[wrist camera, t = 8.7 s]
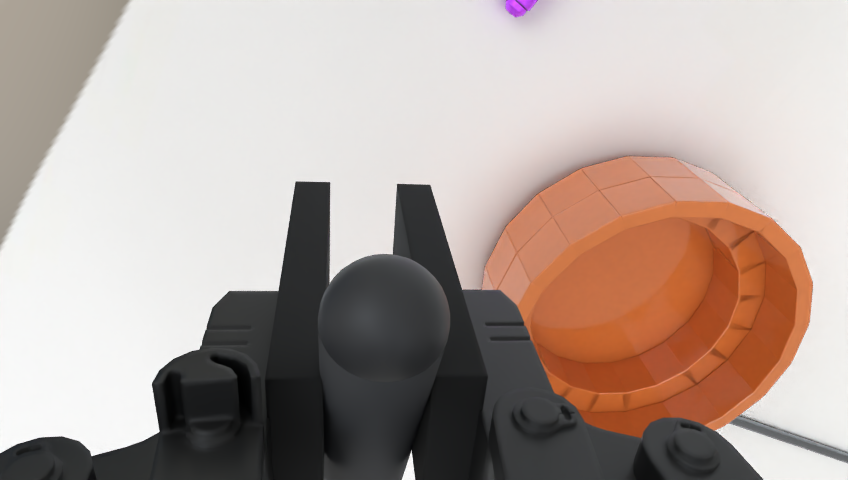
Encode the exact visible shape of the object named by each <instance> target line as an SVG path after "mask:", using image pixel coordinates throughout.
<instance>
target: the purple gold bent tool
mask: <svg viewBox="0 0 848 480" xmlns="http://www.w3.org/2000/svg"><path fill="white" fill-rule="evenodd" d="M537 1H538V0H506V10H507V11H508V12H509V13H511V14H512V15H513V16H514V17H519V16H523V15H524V14H525V13H526V11H530V9H531V8H532V7H533V6H534V4H535V3H536V2H537Z"/></svg>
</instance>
